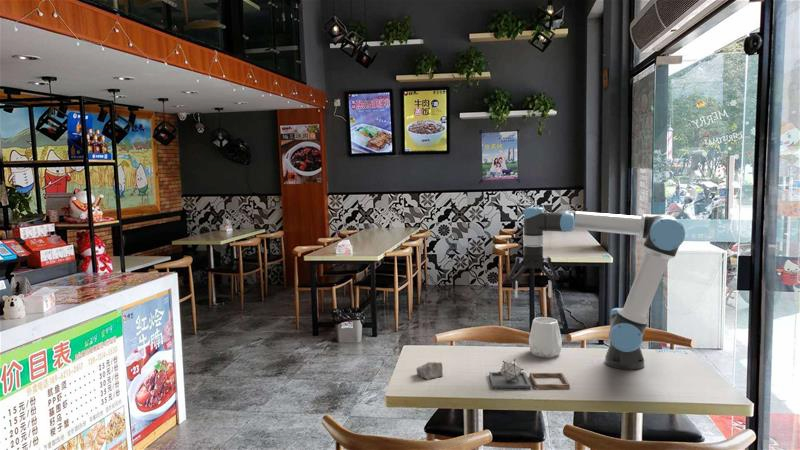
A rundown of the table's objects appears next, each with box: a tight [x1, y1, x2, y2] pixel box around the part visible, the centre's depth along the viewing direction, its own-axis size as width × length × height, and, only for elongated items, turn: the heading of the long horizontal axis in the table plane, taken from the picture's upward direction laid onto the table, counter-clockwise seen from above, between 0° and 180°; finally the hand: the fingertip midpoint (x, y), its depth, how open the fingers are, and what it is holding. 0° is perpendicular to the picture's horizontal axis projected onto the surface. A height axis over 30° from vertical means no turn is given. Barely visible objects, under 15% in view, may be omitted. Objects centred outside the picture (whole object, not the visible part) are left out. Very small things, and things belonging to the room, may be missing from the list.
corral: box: [529, 372, 571, 390], centre depth 230 cm, size 13×13×2 cm
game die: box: [497, 358, 524, 383], centre depth 230 cm, size 9×8×10 cm
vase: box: [528, 316, 563, 359], centre depth 263 cm, size 14×14×15 cm
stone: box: [416, 361, 444, 380], centre depth 239 cm, size 10×8×6 cm
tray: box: [488, 371, 532, 390], centre depth 230 cm, size 14×14×2 cm
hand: (532, 297), depth 246 cm, fingers open, 13 cm apart
